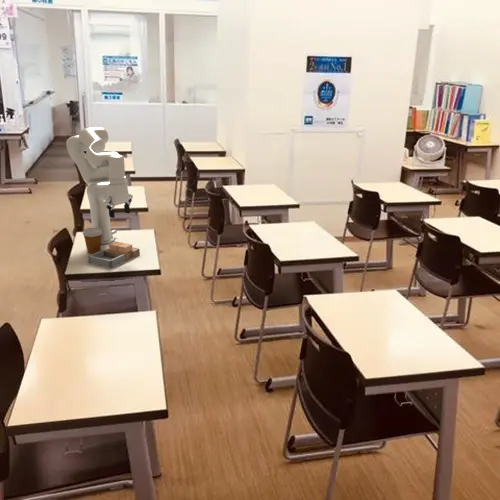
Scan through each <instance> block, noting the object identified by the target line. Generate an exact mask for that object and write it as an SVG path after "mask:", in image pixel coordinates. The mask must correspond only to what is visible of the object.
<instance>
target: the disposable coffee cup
mask: <svg viewBox="0 0 500 500" xmlns="http://www.w3.org/2000/svg"><path fill="white" fill-rule="evenodd" d="M82 231H83V232H82V236H83V238H84V242H85V246H86V250H87V254H88V255H92V254H94V253H96V252H99V251H101V250H102V244H101V237H102V230H101V229H100V228H92V227H88V228H84V229H83V230H82Z"/></svg>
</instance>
